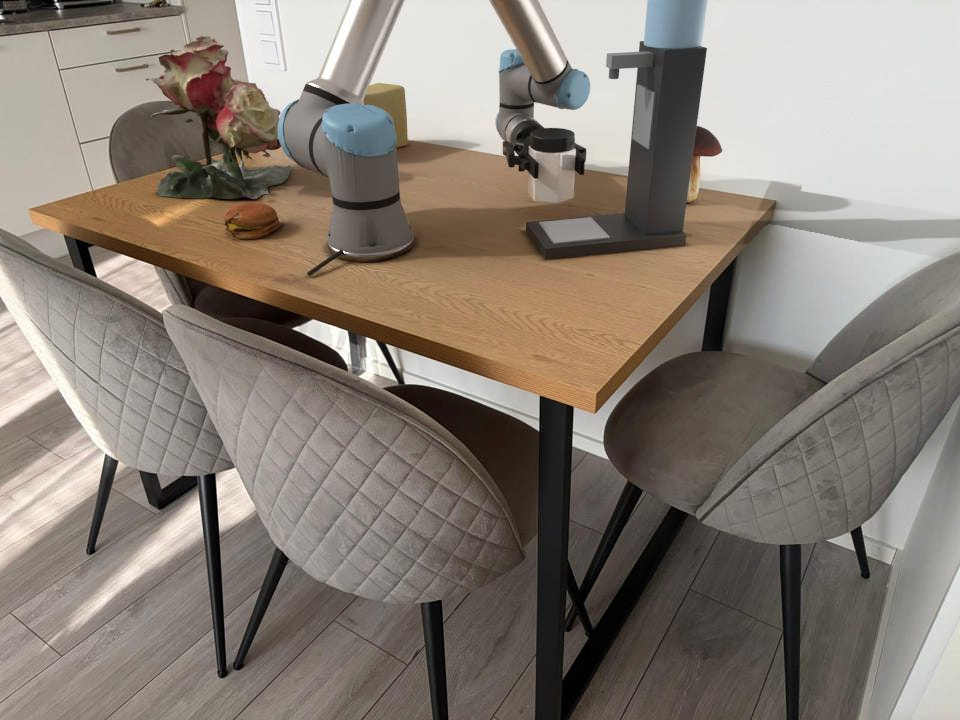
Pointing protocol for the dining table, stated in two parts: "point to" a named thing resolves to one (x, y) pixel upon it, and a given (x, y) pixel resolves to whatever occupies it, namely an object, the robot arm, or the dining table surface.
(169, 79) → the rose bouquet
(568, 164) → the jar
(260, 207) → the burger
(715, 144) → the decorative mushroom
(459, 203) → the dining table surface
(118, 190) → the dining table surface
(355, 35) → the robot arm
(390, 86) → the cheese
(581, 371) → the dining table surface
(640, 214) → the water dispenser
